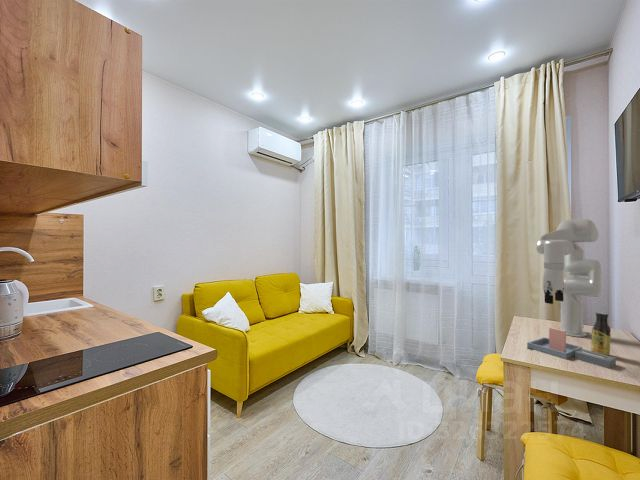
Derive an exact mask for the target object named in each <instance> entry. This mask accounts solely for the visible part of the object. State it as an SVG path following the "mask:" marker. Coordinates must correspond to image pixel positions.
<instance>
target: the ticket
mask: <svg viewBox="0 0 640 480" xmlns="http://www.w3.org/2000/svg"><path fill="white" fill-rule="evenodd" d="M548 334H549V335H548V338H549V348H550V349H553V350H557V351H560V352H564V353H565V352H566V343H567V335H566V331H565V330H560V329H558V328H555V327H549V328H548Z"/></svg>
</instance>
